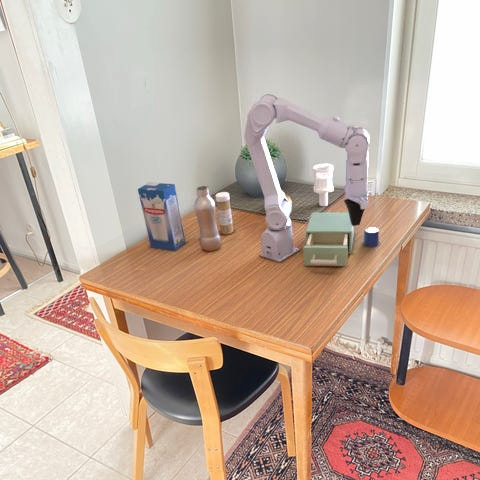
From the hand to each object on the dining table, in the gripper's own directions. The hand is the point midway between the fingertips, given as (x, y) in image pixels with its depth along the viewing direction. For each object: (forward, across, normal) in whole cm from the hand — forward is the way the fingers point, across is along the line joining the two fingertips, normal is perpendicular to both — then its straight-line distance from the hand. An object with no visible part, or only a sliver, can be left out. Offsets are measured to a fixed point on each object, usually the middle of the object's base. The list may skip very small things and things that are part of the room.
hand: (355, 224), depth 137 cm
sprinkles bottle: (+9, +30, +35) cm, 47 cm away
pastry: (+9, +44, +13) cm, 47 cm away
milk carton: (+9, +26, +55) cm, 62 cm away
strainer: (+9, +41, -2) cm, 42 cm away
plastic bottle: (+9, +18, +41) cm, 46 cm away
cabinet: (+9, +9, +4) cm, 14 cm away
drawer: (+8, -2, +9) cm, 12 cm away
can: (+9, +5, -7) cm, 12 cm away
